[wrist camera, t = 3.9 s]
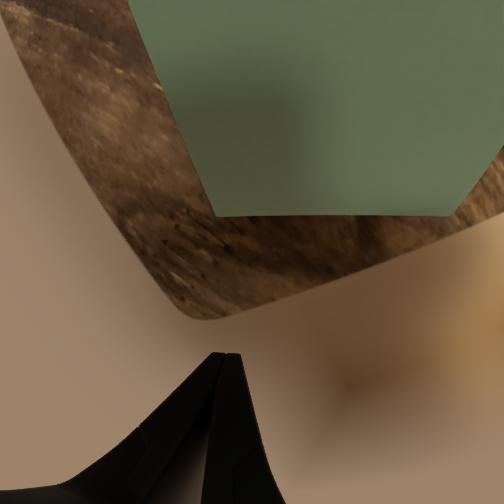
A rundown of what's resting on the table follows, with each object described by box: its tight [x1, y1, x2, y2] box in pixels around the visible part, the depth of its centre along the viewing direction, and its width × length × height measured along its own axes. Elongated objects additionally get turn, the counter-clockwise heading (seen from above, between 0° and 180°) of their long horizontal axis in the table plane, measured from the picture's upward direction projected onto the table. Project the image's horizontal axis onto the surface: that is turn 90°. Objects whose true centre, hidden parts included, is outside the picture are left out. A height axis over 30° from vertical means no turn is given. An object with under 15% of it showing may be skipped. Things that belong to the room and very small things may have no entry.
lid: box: [127, 0, 504, 217], centre depth 9 cm, size 12×12×1 cm
